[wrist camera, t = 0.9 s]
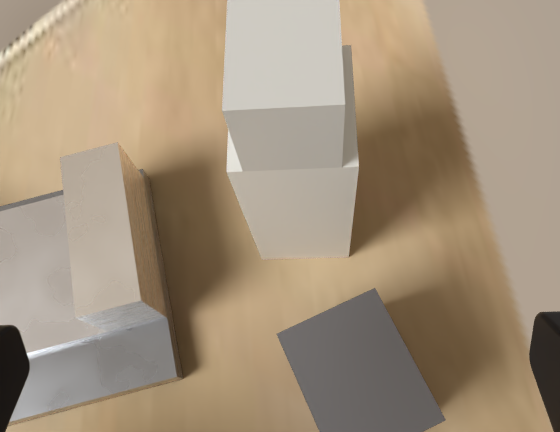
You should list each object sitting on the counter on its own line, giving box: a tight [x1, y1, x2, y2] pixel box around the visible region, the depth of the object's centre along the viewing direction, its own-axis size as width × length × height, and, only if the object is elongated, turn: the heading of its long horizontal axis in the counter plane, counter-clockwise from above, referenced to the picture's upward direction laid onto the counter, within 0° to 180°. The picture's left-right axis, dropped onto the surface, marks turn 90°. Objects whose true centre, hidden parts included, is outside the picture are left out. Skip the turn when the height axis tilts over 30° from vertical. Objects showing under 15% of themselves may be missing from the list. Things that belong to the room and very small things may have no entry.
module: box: [222, 0, 359, 260], centre depth 19 cm, size 5×4×12 cm
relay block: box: [277, 288, 445, 432], centre depth 20 cm, size 5×4×4 cm
